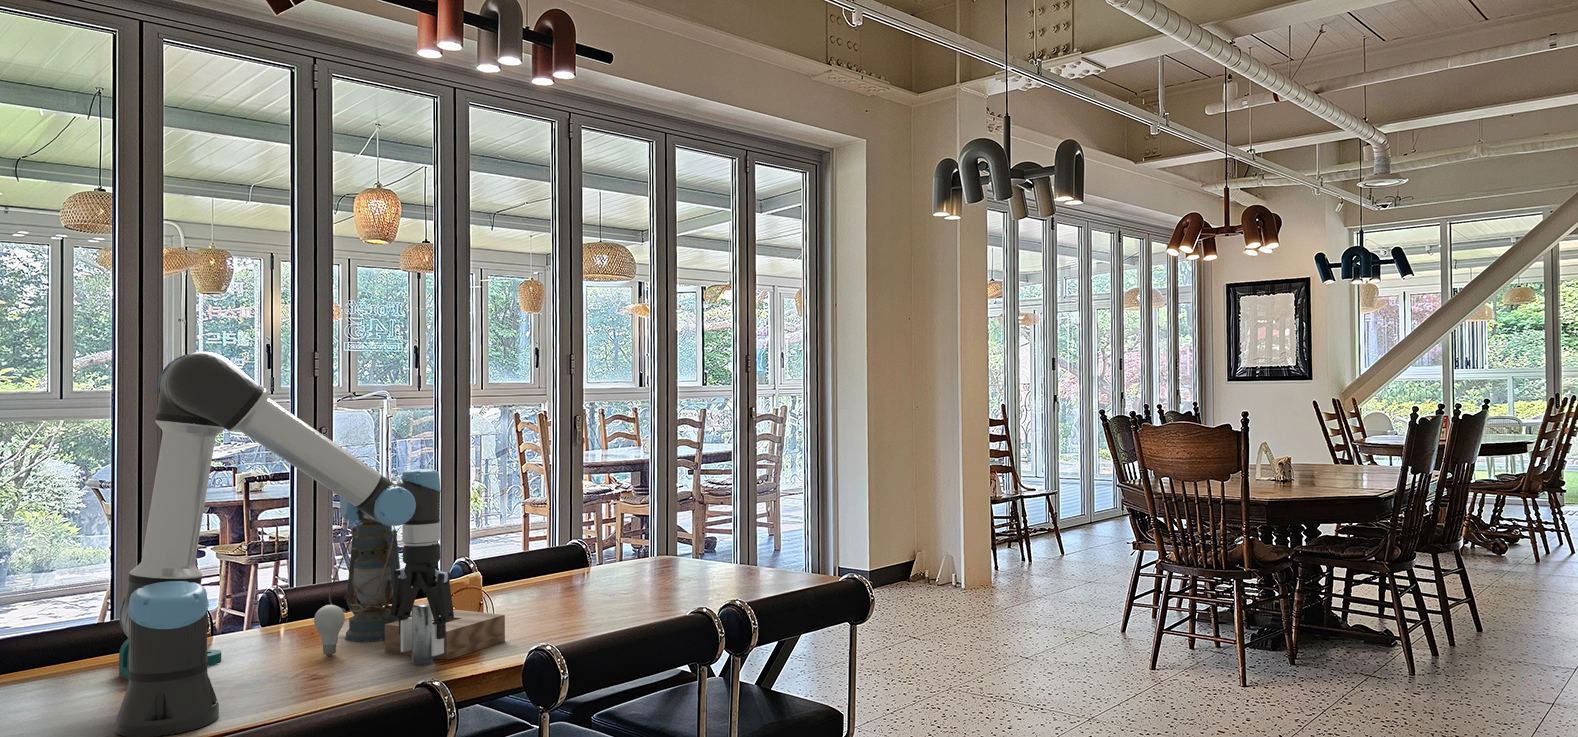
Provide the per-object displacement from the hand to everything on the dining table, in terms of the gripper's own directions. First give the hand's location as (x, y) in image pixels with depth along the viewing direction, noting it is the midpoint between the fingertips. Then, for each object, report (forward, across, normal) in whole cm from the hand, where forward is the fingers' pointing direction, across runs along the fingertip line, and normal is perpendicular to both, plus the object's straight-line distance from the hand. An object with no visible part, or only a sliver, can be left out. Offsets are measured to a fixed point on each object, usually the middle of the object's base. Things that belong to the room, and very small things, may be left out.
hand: (422, 652), depth 218 cm
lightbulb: (+2, +23, +3) cm, 24 cm away
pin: (+2, 0, 0) cm, 2 cm away
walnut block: (+2, +6, -13) cm, 14 cm away
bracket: (+3, +45, +24) cm, 51 cm away
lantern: (+2, +30, -14) cm, 33 cm away
